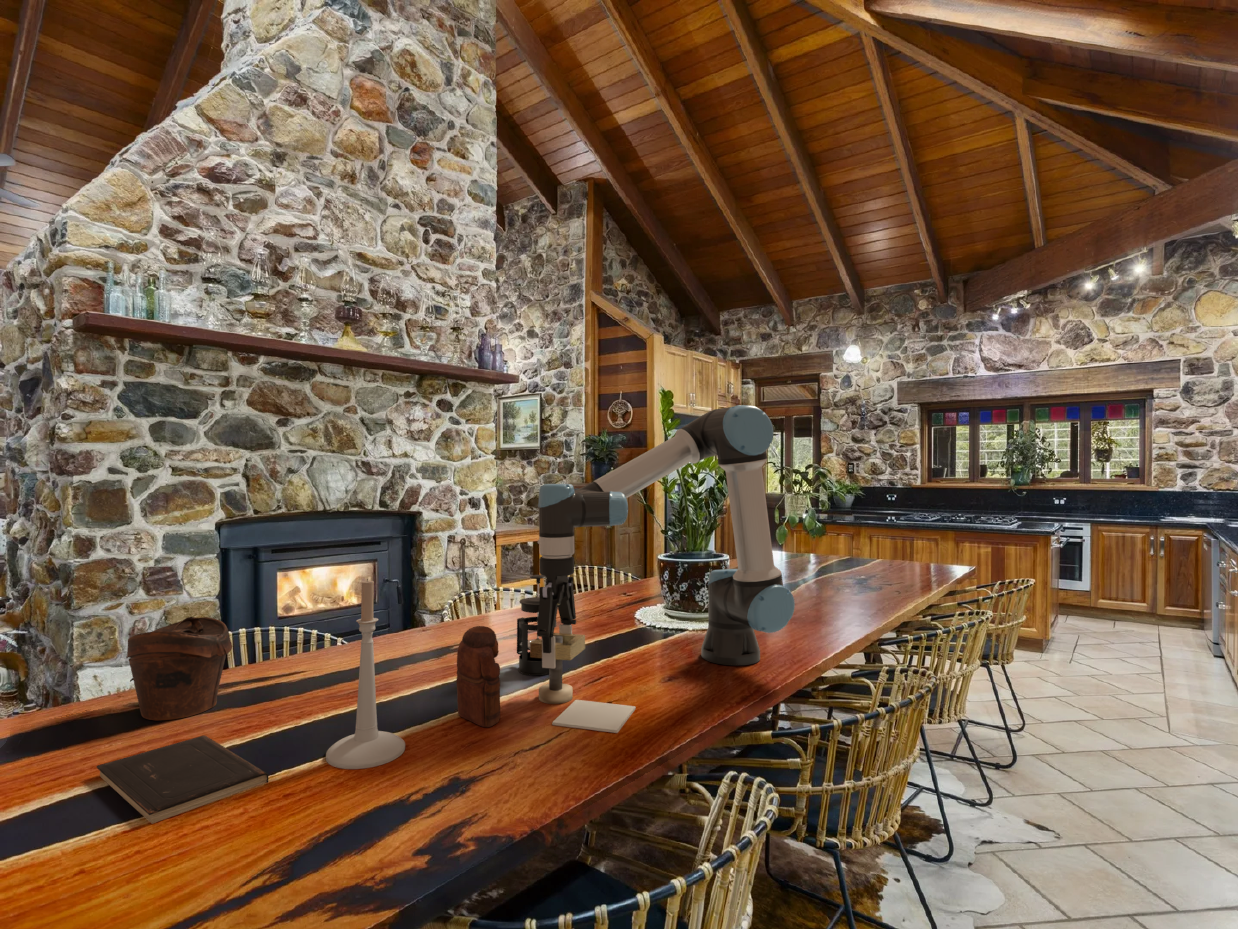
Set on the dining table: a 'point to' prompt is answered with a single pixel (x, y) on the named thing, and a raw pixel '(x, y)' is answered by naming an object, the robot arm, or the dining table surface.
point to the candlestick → (366, 706)
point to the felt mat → (595, 716)
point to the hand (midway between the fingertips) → (557, 660)
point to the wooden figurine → (478, 677)
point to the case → (178, 667)
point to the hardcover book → (180, 777)
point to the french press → (523, 644)
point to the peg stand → (556, 684)
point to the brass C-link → (561, 646)
